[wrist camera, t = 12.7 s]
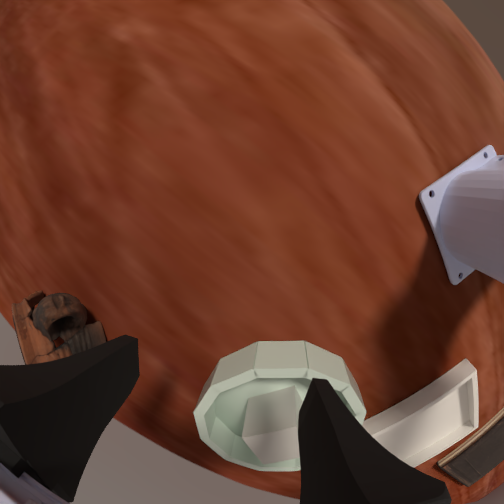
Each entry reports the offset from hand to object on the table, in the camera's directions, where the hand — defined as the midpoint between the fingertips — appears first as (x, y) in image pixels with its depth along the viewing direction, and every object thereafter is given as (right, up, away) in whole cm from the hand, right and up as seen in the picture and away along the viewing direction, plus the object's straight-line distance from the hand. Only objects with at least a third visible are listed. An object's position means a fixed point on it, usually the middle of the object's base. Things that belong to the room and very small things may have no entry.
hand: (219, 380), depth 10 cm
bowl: (+4, -8, +11) cm, 14 cm away
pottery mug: (-16, -2, +12) cm, 20 cm away
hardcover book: (+41, -27, +12) cm, 51 cm away
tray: (+19, -14, +11) cm, 26 cm away
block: (+4, -8, +10) cm, 14 cm away
